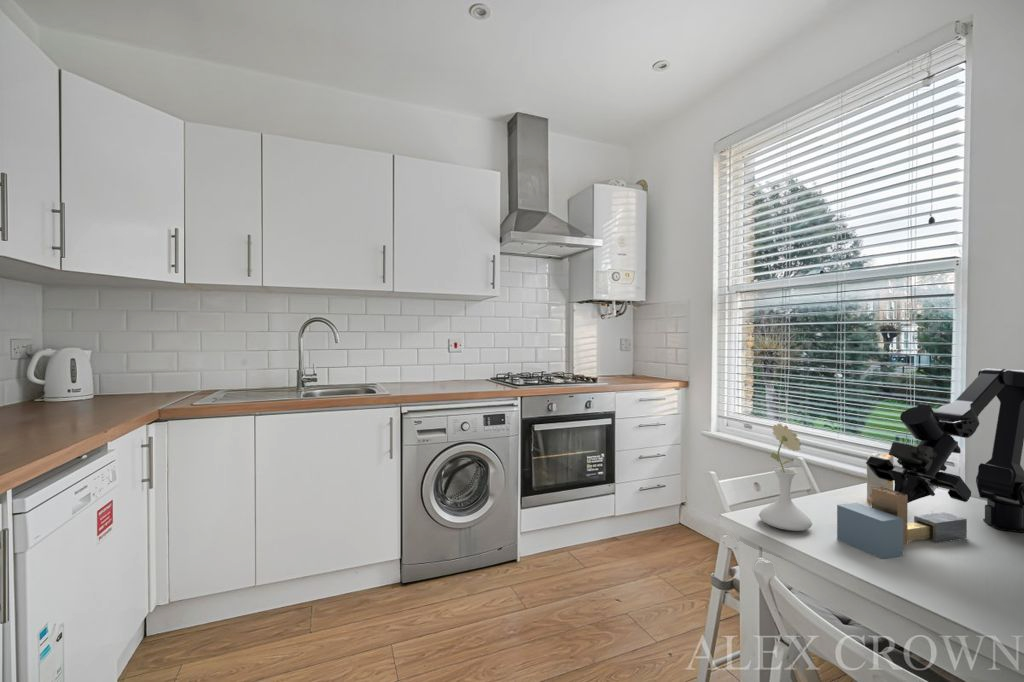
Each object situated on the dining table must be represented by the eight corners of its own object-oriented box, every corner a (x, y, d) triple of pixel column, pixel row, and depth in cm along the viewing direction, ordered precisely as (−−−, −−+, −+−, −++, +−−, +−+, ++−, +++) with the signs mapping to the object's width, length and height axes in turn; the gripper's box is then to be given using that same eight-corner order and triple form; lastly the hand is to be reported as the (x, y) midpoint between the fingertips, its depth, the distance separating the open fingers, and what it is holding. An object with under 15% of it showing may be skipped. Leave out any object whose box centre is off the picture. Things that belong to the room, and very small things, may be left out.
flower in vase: (821, 537, 107) (821, 430, 107) (768, 533, 109) (768, 428, 109) (798, 516, 119) (798, 421, 120) (750, 513, 122) (751, 419, 122)
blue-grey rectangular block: (857, 536, 107) (857, 502, 107) (903, 555, 98) (903, 518, 98) (837, 539, 106) (837, 504, 106) (881, 559, 96) (882, 521, 96)
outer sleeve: (944, 531, 111) (944, 512, 111) (966, 538, 106) (966, 518, 107) (914, 535, 108) (914, 515, 108) (935, 543, 104) (935, 523, 104)
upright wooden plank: (919, 529, 109) (919, 483, 109) (946, 539, 104) (946, 490, 104) (853, 538, 104) (853, 489, 104) (878, 549, 99) (878, 497, 99)
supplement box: (873, 495, 136) (873, 452, 137) (894, 500, 133) (894, 455, 133) (865, 501, 131) (865, 456, 131) (887, 506, 128) (887, 459, 128)
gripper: (871, 423, 114) (837, 470, 111) (962, 438, 96) (923, 495, 93) (895, 453, 116) (861, 500, 113) (987, 473, 98) (951, 529, 95)
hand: (895, 504), depth 104 cm, fingers closed, pressing on upright wooden plank
